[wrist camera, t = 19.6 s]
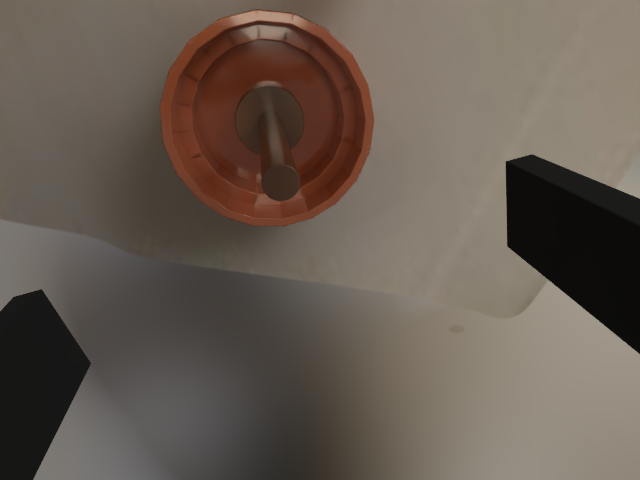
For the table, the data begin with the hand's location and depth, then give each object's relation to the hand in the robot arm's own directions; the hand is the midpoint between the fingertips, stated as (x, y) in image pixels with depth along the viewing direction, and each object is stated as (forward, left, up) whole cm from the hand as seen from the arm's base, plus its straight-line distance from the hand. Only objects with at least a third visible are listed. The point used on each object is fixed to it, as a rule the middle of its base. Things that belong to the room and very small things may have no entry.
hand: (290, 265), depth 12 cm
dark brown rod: (0, 0, -27) cm, 27 cm away
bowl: (0, 0, -27) cm, 27 cm away
